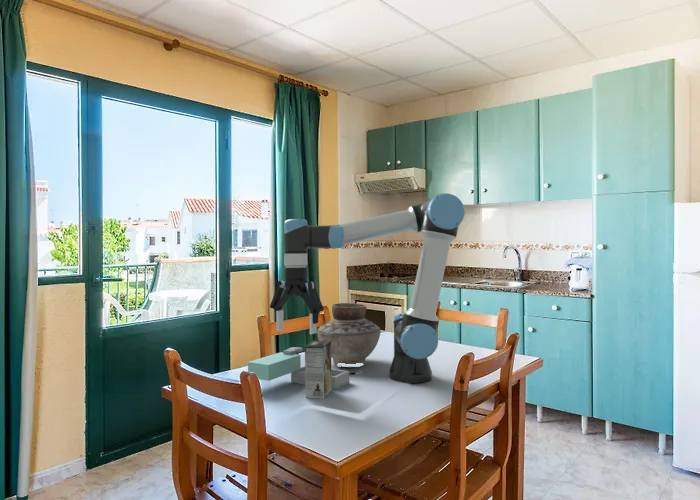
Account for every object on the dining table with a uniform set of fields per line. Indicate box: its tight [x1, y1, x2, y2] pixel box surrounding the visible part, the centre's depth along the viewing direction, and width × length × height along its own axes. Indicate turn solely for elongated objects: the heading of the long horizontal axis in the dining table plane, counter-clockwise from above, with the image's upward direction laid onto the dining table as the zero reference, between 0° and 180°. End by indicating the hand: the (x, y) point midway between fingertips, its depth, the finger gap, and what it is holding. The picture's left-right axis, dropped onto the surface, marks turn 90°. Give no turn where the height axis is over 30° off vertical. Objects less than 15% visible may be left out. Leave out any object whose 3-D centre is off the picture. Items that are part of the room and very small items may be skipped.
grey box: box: [290, 352, 350, 390], centre depth 165 cm, size 21×9×10 cm, turn 59°
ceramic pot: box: [316, 302, 382, 367], centre depth 189 cm, size 25×25×24 cm
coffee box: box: [304, 340, 333, 399], centre depth 151 cm, size 9×6×16 cm
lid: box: [247, 346, 303, 382], centre depth 162 cm, size 22×9×6 cm, turn 149°
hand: (296, 331), depth 156 cm, fingers open, 13 cm apart
